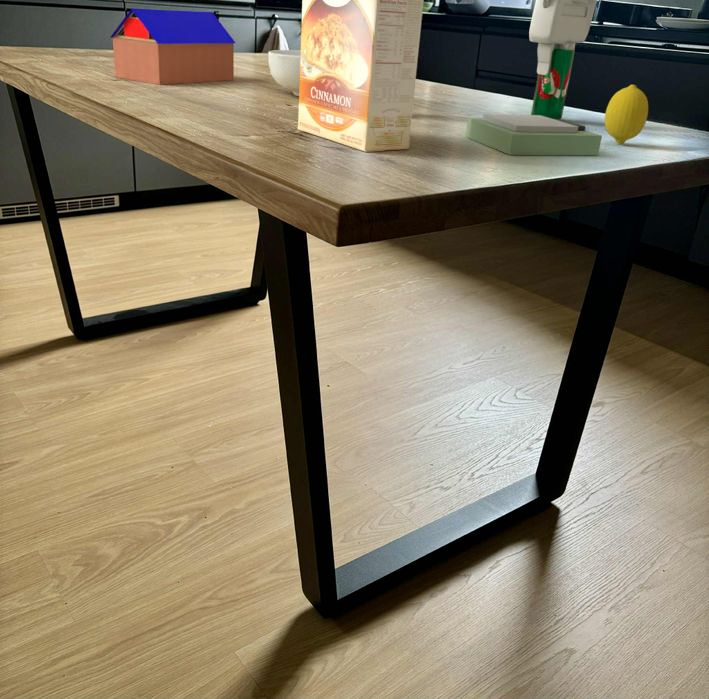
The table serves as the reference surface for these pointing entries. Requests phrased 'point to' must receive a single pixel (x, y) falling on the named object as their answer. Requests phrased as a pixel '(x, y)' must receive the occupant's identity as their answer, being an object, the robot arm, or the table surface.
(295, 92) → the cereal bowl
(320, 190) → the table surface
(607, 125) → the lemon
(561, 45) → the soda can
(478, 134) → the scale
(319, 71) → the coffeecake box
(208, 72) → the house
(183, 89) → the table surface
